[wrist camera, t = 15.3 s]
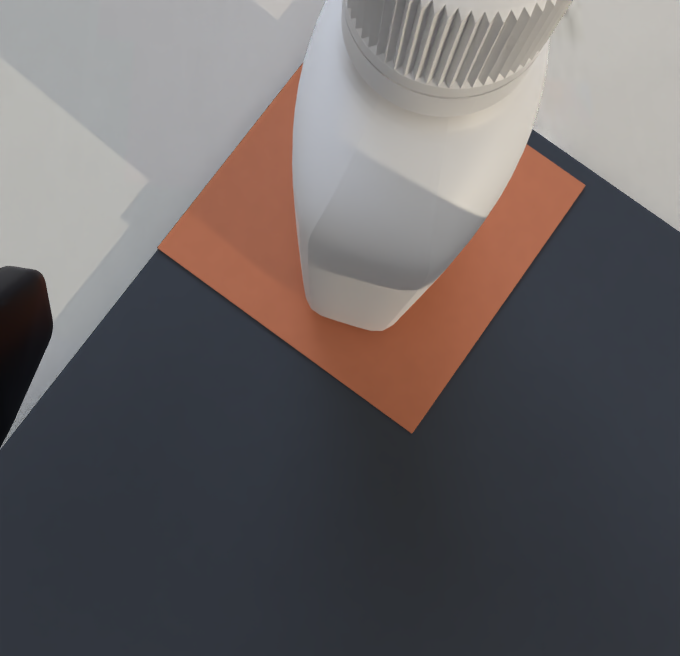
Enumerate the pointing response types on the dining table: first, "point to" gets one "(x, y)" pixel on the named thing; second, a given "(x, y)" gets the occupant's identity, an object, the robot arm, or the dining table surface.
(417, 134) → the eye dropper bottle
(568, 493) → the desk mat
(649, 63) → the dining table surface
